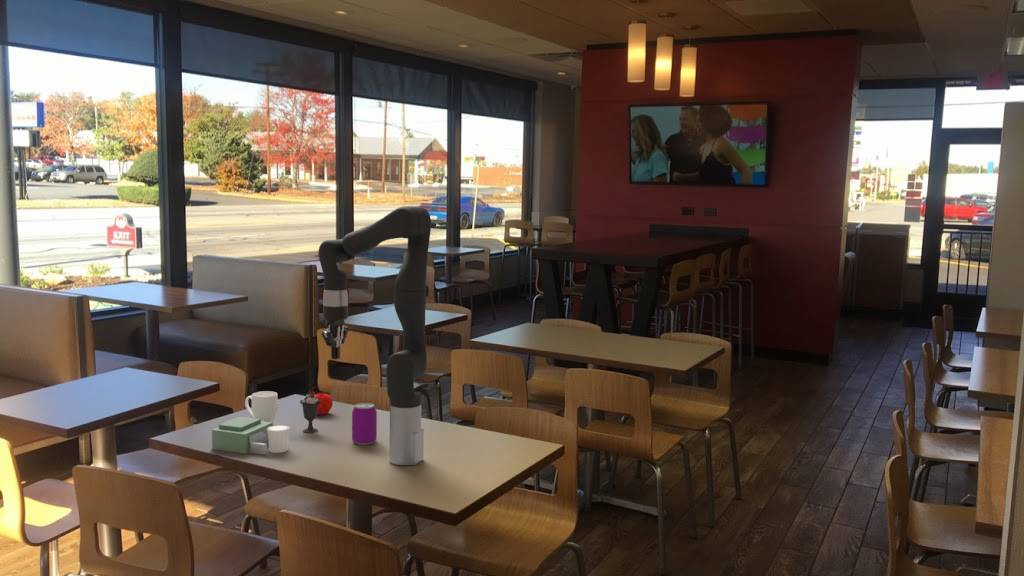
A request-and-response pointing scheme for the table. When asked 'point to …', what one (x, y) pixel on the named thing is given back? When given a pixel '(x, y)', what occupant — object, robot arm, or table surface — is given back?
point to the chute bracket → (258, 442)
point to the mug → (263, 405)
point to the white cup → (278, 438)
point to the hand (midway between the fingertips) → (335, 358)
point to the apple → (324, 403)
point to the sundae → (310, 410)
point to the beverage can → (364, 424)
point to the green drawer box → (236, 434)
